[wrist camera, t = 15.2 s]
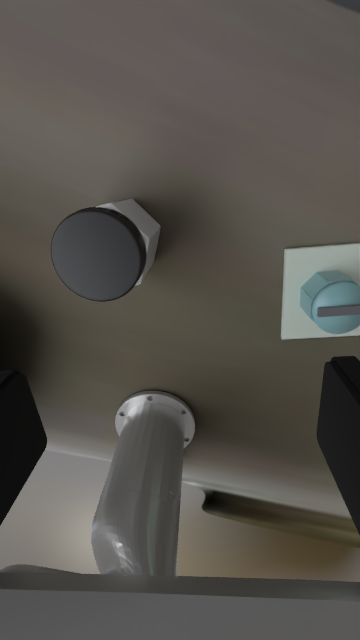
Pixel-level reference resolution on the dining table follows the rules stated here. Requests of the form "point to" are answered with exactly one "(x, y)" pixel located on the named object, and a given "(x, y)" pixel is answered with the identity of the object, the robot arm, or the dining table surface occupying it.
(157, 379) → the dining table surface
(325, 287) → the cap
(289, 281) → the mat
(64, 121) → the dining table surface
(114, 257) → the jar
